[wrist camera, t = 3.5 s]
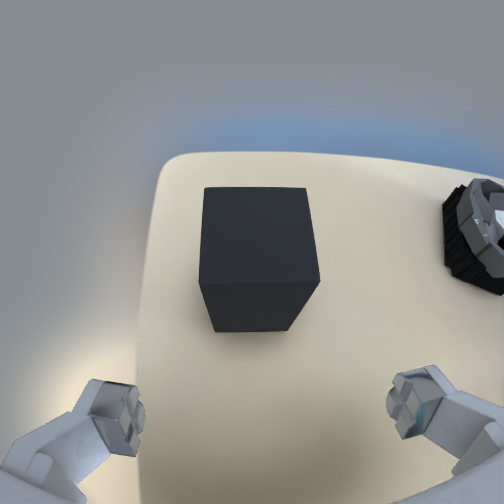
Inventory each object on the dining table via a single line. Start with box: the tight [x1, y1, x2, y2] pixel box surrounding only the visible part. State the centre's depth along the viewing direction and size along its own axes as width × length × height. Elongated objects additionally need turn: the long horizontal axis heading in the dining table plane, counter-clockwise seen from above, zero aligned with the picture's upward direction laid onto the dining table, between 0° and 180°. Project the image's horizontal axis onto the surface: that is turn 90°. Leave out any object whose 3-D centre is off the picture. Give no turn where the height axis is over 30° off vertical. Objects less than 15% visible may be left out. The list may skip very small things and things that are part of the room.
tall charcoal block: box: [199, 187, 320, 332], centre depth 17 cm, size 5×5×9 cm
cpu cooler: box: [443, 178, 504, 296], centre depth 22 cm, size 10×6×10 cm
